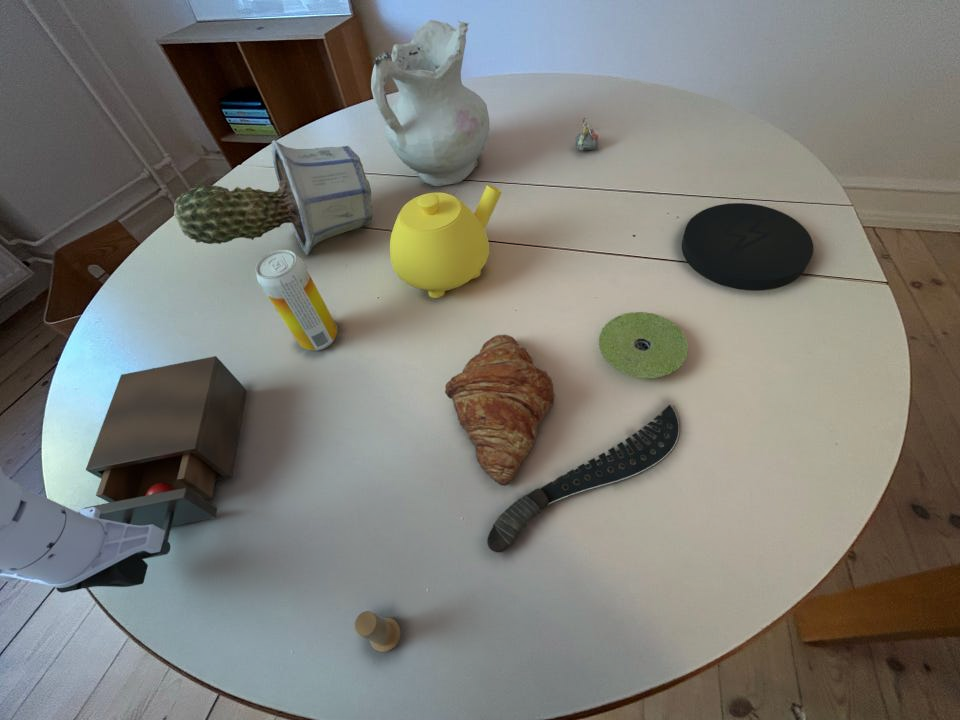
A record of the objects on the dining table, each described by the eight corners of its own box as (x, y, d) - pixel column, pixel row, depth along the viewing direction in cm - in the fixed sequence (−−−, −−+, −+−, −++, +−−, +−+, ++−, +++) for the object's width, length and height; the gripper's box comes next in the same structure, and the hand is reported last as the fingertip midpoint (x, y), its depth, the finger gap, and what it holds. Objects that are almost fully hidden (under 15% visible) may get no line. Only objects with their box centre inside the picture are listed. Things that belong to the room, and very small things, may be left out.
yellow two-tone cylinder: (327, 316, 77) (286, 241, 65) (346, 337, 74) (307, 262, 62) (293, 337, 75) (245, 264, 63) (311, 360, 72) (263, 287, 60)
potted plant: (338, 117, 86) (145, 138, 73) (380, 163, 77) (166, 198, 64) (346, 206, 99) (183, 238, 86) (383, 255, 90) (206, 299, 77)
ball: (174, 497, 59) (166, 517, 57) (147, 491, 58) (137, 511, 56) (182, 481, 58) (175, 501, 56) (155, 474, 57) (146, 494, 55)
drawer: (208, 558, 54) (173, 541, 49) (108, 578, 54) (63, 563, 49) (232, 426, 65) (206, 401, 60) (148, 443, 65) (115, 419, 60)
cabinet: (232, 477, 61) (194, 448, 55) (133, 497, 61) (85, 470, 55) (247, 390, 70) (216, 355, 63) (160, 407, 70) (120, 374, 63)
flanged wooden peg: (387, 659, 47) (366, 650, 42) (365, 639, 49) (342, 628, 43) (406, 630, 49) (388, 618, 43) (384, 611, 50) (364, 597, 44)
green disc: (586, 331, 69) (586, 322, 67) (661, 312, 69) (664, 303, 68) (616, 395, 62) (618, 387, 60) (700, 374, 62) (704, 365, 61)
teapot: (481, 218, 87) (471, 145, 76) (532, 263, 79) (529, 188, 68) (382, 267, 82) (356, 196, 71) (425, 321, 74) (404, 250, 63)
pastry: (593, 414, 61) (598, 377, 54) (500, 493, 56) (494, 463, 50) (505, 340, 70) (501, 301, 63) (419, 402, 65) (404, 367, 59)
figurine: (584, 139, 99) (586, 109, 94) (603, 145, 97) (606, 115, 92) (569, 151, 97) (570, 122, 92) (588, 158, 95) (590, 127, 90)
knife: (697, 437, 58) (666, 406, 61) (702, 430, 57) (670, 399, 59) (502, 570, 51) (476, 529, 54) (502, 567, 50) (475, 524, 52)
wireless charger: (680, 283, 72) (683, 273, 71) (682, 210, 82) (685, 200, 81) (815, 296, 68) (821, 286, 66) (800, 217, 78) (805, 206, 76)
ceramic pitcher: (458, 217, 90) (444, 75, 70) (370, 192, 96) (333, 54, 75) (505, 155, 101) (505, 16, 81) (423, 136, 107) (404, 2, 86)
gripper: (129, 474, 43) (213, 524, 54) (-31, 506, 43) (85, 550, 54) (104, 555, 39) (200, 592, 50) (-74, 590, 39) (61, 620, 50)
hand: (139, 575), depth 52 cm, fingers closed, pressing on drawer
